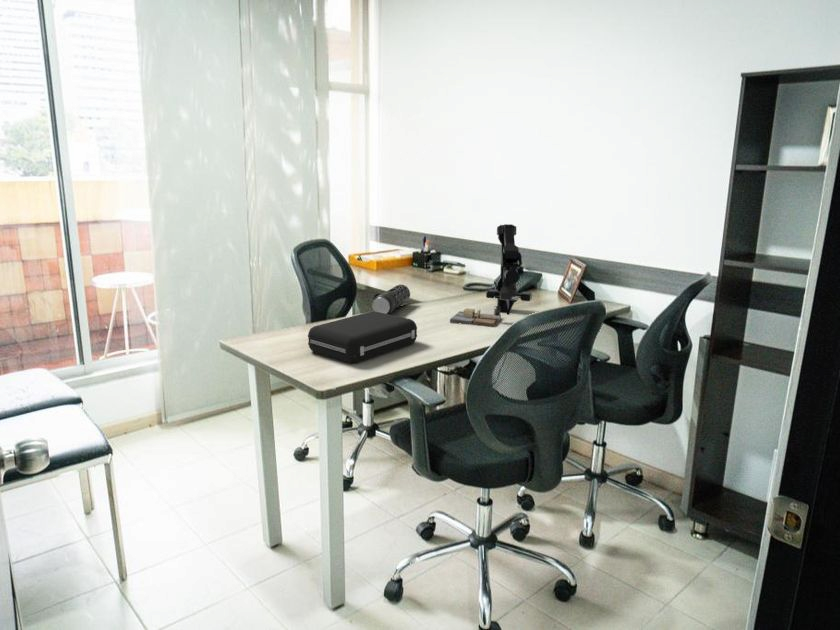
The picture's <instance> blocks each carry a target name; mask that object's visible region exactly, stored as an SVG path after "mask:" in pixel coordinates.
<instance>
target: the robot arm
mask: <svg viewBox="0 0 840 630" xmlns="http://www.w3.org/2000/svg"><path fill="white" fill-rule="evenodd" d="M496 235H497V239H498V241H499V243H500V273H499V274H500V276H499V277H498V279H497V281H496V285H495V286H494V287H495V288H494V289H493V288H489V290H487V291H486V294H485V296H486V297H485V298H487V299H497V300H496V301H497V303H496V306H500V313H506V315H507V316H509V315H510V313H511V311H512V309H513V306H514V304H515V303H516V302H518V301H519V299H520V300H521V301H522V302H530V301H531V300H532V299H533V293H532V292H530V291H522V292H521V293H518V288H517V283H518V282H519V280H520V279H521V278H520V273H519V272H518V268H521V267H522V264H523V259H522V258H523V257H522V254H521V252H520V250H519V247H518V246H517V245H516V244H515V236H516V235H517V226H516V225H514V224H509V223H508V224H507V223H506V224H505V223H504V224H499V225H498V226H497V227H496Z"/></svg>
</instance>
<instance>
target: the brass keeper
mask: <svg viewBox="0 0 840 630" xmlns="http://www.w3.org/2000/svg"><path fill="white" fill-rule="evenodd" d="M463 312H464V314H463V317H467V318H473V316H475V313H477V319H478V318H479V317H480V314H481V313H482V312H481V309H478V310H477V311H476V309H475V308H467V307H466V308H464V310H463Z"/></svg>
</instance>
